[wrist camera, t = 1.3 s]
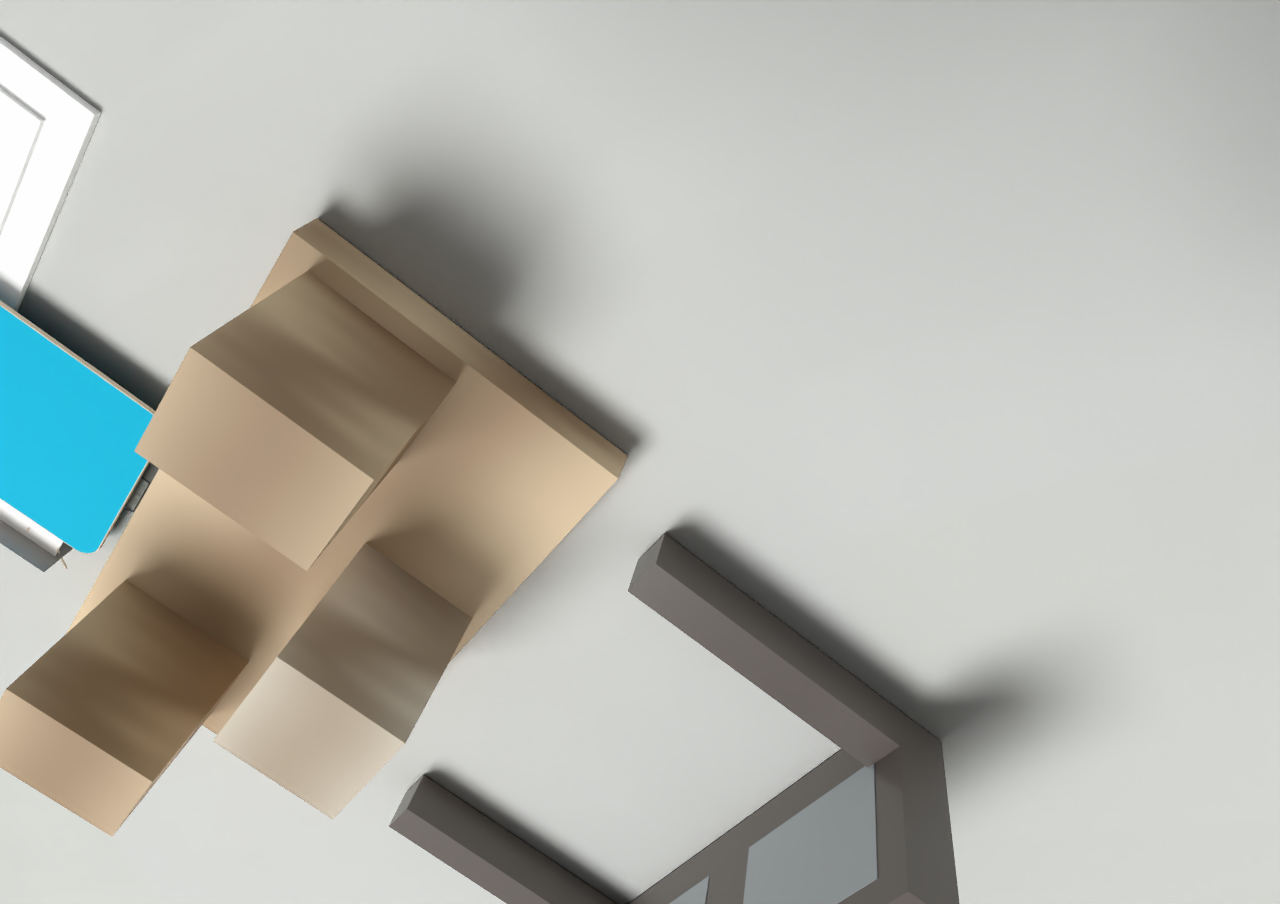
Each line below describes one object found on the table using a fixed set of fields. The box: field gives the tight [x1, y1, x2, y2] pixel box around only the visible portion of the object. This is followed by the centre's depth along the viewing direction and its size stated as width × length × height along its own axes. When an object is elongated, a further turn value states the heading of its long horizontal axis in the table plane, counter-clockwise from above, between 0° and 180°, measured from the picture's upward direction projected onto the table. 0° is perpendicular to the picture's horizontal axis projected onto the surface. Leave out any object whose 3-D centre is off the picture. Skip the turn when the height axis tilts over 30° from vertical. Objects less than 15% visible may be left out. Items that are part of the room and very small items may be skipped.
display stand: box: [0, 218, 627, 836], centre depth 22 cm, size 8×14×5 cm, turn 142°
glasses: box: [389, 534, 959, 904], centre depth 23 cm, size 8×12×5 cm
